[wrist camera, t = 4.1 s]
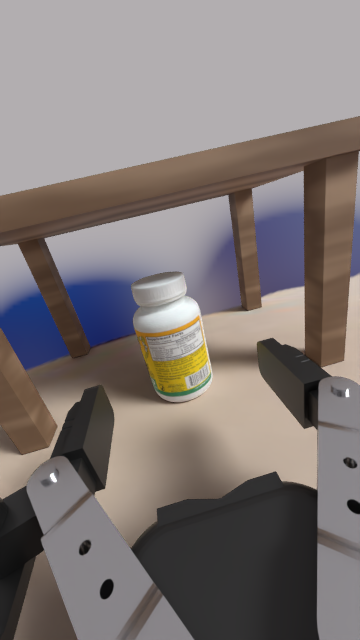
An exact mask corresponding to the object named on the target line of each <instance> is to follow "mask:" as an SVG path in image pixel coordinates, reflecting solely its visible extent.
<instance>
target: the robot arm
mask: <svg viewBox="0 0 360 640" xmlns="http://www.w3.org/2000/svg"><path fill="white" fill-rule="evenodd" d="M257 352H258V362H259V369H260V373H261V375H262V377H263V379H264V380H265V381H266V382H267V384H268V385H269V386H270V387H271V389H272V390H273V391H274V392H275V393H276V395H277V396H278V397H279V398H280V400H281V401H282V402H283V403H284V405H285V406H286V407H287V408H288V409H289V411H290V412H291V413H292V414H293V416H294V417H295V418H296V419H297V421H298V422H299V423H300V424H301V425H302V427H303V428H304V429H305V428H309V427H312V426H314V427H315V428H316V429H317V430H318V433H317V490H316V489H313V488H311V487H309V486H306V485H303V484H299V483H294V482H282V481H281V480H280V478H279V476H278V474H277V472H272V473H269V474H266V475H263V476H260V477H257V478H253V479H250V480H247V481H246V482H244V483H243V484H241V485H240V486H238V487H237V488H235V489H234V490H232V491H231V492H229V493H228V494H227V495H225V496H224V497H222V498H219V499H187V500H183V501H180V502H177V503H174V504H171V505H168V506H164V507H161V508H158V509H157V519H158V521H157V522H155V523H154V524H152V525H151V526H150V527H149V528H148V529H147V530H146V531H145V532H144V533H143V534H142V535H141V536H140V537H139V538H138V540H137V541H136V542H135V544H134V545H133V547H132V548H131V549H130V547H129V546H128V544H127V543H126V542H125V540H124V539H123V537H122V536H121V534H120V533H119V531H118V530H117V529H116V527H115V526H114V524H113V523H112V521H111V520H110V518H109V517H108V515H107V514H106V513H105V511H104V510H103V508H102V507H101V505H100V504H99V502H98V501H97V499H96V498H95V497H94V495H95V492H96V491H99V490H102V489H105V486H106V479H107V471H108V464H109V456H110V449H111V442H112V434H113V427H114V413H113V409H112V406H111V404H110V402H109V400H108V397H107V395H106V393H105V390H104V388H103V387H102V385H99V386H95V387H91V388H88V389H85V390H84V393H83V395H82V398H81V401H80V402H76V403H75V404H74V406H73V407H72V408H71V409H70V410H69V412H68V414H67V417H66V419H65V423H64V424H63V427H62V431H61V432H60V435H59V437H58V440H57V442H56V445H55V447H54V450H53V453H52V455H51V458H50V459H49V460H47V461H46V462H44V463H43V464H42V465H40V466H39V467H38V468H37V469H36V470H35V472H34V473H33V474H32V476H31V477H30V479H29V481H28V483H27V486H25V487H23V488H22V489H20V490H18V491H17V492H15V493H13V494H11V495H10V496H8V497H6V498H4V499H3V500H2V499H1V498H0V640H13V639H14V635H15V631H16V628H17V624H18V620H19V617H20V613H21V609H22V606H23V602H24V599H25V595H26V591H27V588H28V584H29V580H30V577H31V573H32V569H33V566H34V562H35V558H36V556H37V555H38V554H40V553H41V552H42V551H45V553H46V556H47V559H48V561H49V564H50V567H51V569H52V572H53V575H54V577H55V580H56V583H57V585H58V588H59V591H60V593H61V596H62V599H63V602H64V604H65V607H66V610H67V612H68V615H69V618H70V620H71V623H72V626H73V628H74V631H75V634H76V636H77V639H78V640H360V385H359V384H357V383H356V382H354V381H352V380H350V379H347V378H343V377H336V376H334V377H332V376H331V375H329V374H328V373H327V372H326V371H324V370H323V369H322V368H320V367H319V366H318V365H317V364H315V363H314V362H313V361H311V360H309V358H308V357H306V356H305V355H303V353H301V352H300V351H299V350H297V349H296V348H294V347H291V346H288V345H286V344H285V345H281V344H280V343H278V342H277V341H276V340H275V339H274V338H270V339H266V340H263V341H259V342H257Z"/></svg>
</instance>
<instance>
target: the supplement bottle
mask: <svg viewBox="0 0 360 640" xmlns="http://www.w3.org/2000/svg"><path fill="white" fill-rule="evenodd" d="M131 289H132V293H133V296H134V300H135V302H136V303H137V304H138V305H139V306H141V307H139V308H138V310H137V311H136V312H135V314H134V317H133V325H134V329H135V332H136V335H137V338H138V341H139V344H140V347H141V350H142V353H143V356H144V359H145V362H146V365H147V368H148V371H149V375H150V378H151V381H152V384H153V386H154V389H155V391H156V392H157V394H158V395H159V396H160V397H161V398H163V399H165V400H167V401H171V402H184V401H189V400H192V399H194V398H196V397H198V396H200V395H201V394H203V393H204V392H205V391H206V390H207V389H208V388H209V386H210V384H211V382H212V377H213V375H212V369H211V364H210V359H209V354H208V349H207V344H206V339H205V334H204V329H203V324H202V318H201V313H200V308H199V305H198V304H197V302H196V301H195V300H194V299H192V298H190V297H188V296H184V295H185V294H186V289H187V286H186V283H185V279H184V275H183V273H181V272H165V273H160V274H155V275H151V276H148V277H145V278H142V279H140V280H138V281H136V282H134V283H133V284H132V285H131Z"/></svg>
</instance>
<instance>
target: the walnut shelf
mask: <svg viewBox="0 0 360 640" xmlns="http://www.w3.org/2000/svg"><path fill="white" fill-rule="evenodd" d="M359 151H360V116H358V117H354V118H350V119H345V120H340V121H336V122H331V123H327V124H322V125H318V126H313V127H309V128H304V129H300V130H295V131H291V132H286V133H282V134H277V135H273V136H268V137H264V138H259V139H255V140H250V141H246V142H242V143H236V144H232V145H227V146H223V147H218V148H214V149H209V150H205V151H200V152H196V153H191V154H187V155H182V156H178V157H174V158H169V159H164V160H160V161H155V162H151V163H147V164H142V165H138V166H133V167H129V168H124V169H119V170H115V171H110V172H106V173H102V174H97V175H93V176H88V177H84V178H79V179H75V180H70V181H66V182H61V183H56V184H52V185H47V186H43V187H39V188H34V189H30V190H25V191H20V192H16V193H11V194H7V195H2V196H0V246H5V245H13V244H18V245H19V247H20V249H21V251H22V253H23V256H24V258H25V260H26V262H27V264H28V266H29V268H30V270H31V272H32V275H33V276H34V279H35V281H36V283H37V285H38V287H39V289H40V292H41V294H42V296H43V298H44V300H45V302H46V304H47V306H48V308H49V311H50V313H51V315H52V317H53V319H54V321H55V323H56V325H57V327H58V330H59V332H60V334H61V336H62V338H63V340H64V342H65V344H66V346H67V349H68V351H69V353H70V355H71V357H72V358H75V357H78V356H82V355H86V354H88V351H89V349H90V345H89V342H88V340H87V338H86V336H85V333H84V331H83V328H82V326H81V324H80V321H79V319H78V317H77V314H76V312H75V310H74V307H73V305H72V303H71V301H70V298H69V296H68V294H67V291H66V289H65V286H64V284H63V282H62V279H61V277H60V275H59V272H58V270H57V268H56V265H55V263H54V261H53V258H52V256H51V254H50V252H49V249H48V246H47V244H46V242H45V239H44V238H47V237H51V236H55V235H60V234H64V233H68V232H73V231H77V230H81V229H85V228H89V227H94V226H98V225H102V224H106V223H111V222H115V221H119V220H123V219H128V218H132V217H136V216H140V215H145V214H149V213H153V212H157V211H162V210H166V209H170V208H174V207H178V206H183V205H187V204H191V203H195V202H199V201H204V200H208V199H212V198H216V197H221V196H225V195H229V204H230V212H231V220H232V229H233V237H234V245H235V253H236V261H237V270H238V278H239V286H240V293H241V294H240V295H241V303H242V307H244V308H245V309H246V310H252V309H256V308H260V307H262V305H261V293H260V283H259V271H258V258H257V247H256V236H255V223H254V211H253V202H252V201H253V200H252V188H255V187H258V186H260V185H264V184H266V183H269V182H272V181H275V180H278V179H281V178H284V177H287V176H289V175H292V174H295V173H298V172H301V171H304V257H305V258H304V262H305V265H304V266H305V355H306V356H307V357H309V358H310V359H311V360H313V361H314V362H315V363H316V364H318V365H319V366H320V367H323V366H327V365H330V364H334V363H337V362H340V361H344V353H345V339H346V324H347V310H348V296H349V282H350V268H351V253H352V238H353V225H354V211H355V196H356V183H357V169H358V168H357V167H358V154H359ZM0 425H1V426H2V427H3V429H4V430H5V432H6V433H7V434H8V436H9V437H10V439H11V440H12V441H13V443H14V444H15V446H16V447H17V448H18V450H19V451H20V453H21V454H22V455H23V454H26V453H30V452H33V451H36V450H40V449H43V448H47V447H49V445H50V443H51V441H52V438H53V436H54V433H55V431H56V429H57V424H56V423H55V421H54V419H53V417H52V416H51V414H50V412H49V411H48V409H47V407H46V405H45V404H44V402H43V400H42V398H41V397H40V395H39V393H38V392H37V390H36V388H35V386H34V385H33V383H32V381H31V380H30V378H29V376H28V374H27V373H26V371H25V369H24V368H23V366H22V364H21V362H20V361H19V359H18V357H17V356H16V354H15V352H14V350H13V349H12V347H11V345H10V344H9V342H8V340H7V338H6V337H5V335H4V333H3V332H2V330H1V328H0Z"/></svg>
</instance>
